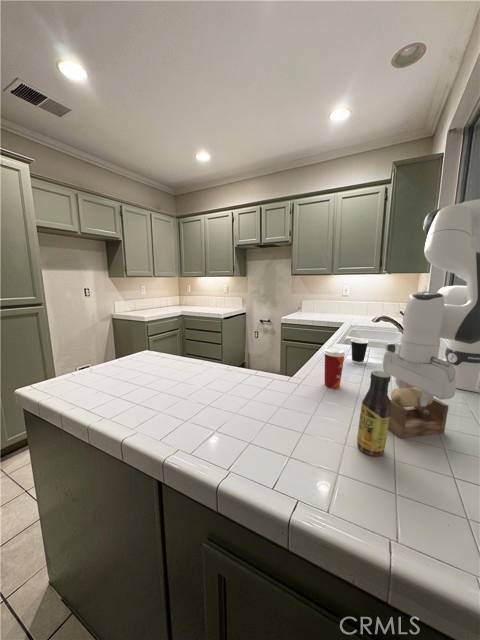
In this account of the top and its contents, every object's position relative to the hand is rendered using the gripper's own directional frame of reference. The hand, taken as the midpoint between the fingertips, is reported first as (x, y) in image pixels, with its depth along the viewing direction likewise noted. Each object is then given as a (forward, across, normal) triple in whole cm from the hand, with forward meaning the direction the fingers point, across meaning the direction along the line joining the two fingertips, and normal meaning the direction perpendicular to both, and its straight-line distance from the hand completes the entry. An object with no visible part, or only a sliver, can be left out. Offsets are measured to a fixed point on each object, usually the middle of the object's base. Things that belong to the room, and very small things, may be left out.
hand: (411, 399), depth 74 cm
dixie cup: (+8, +53, -22) cm, 58 cm away
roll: (+2, 0, 0) cm, 2 cm away
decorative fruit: (+8, +17, -17) cm, 26 cm away
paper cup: (+8, +30, +6) cm, 32 cm away
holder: (+8, 0, 0) cm, 8 cm away
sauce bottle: (+8, -7, +18) cm, 21 cm away
